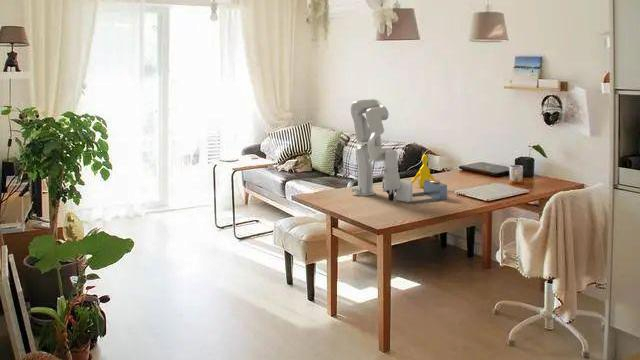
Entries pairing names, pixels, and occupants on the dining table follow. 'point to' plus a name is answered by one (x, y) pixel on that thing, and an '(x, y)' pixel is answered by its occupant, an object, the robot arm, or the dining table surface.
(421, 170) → the figure statuette
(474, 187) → the dining table surface
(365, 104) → the robot arm
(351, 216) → the dining table surface
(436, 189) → the motor mount
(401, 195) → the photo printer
